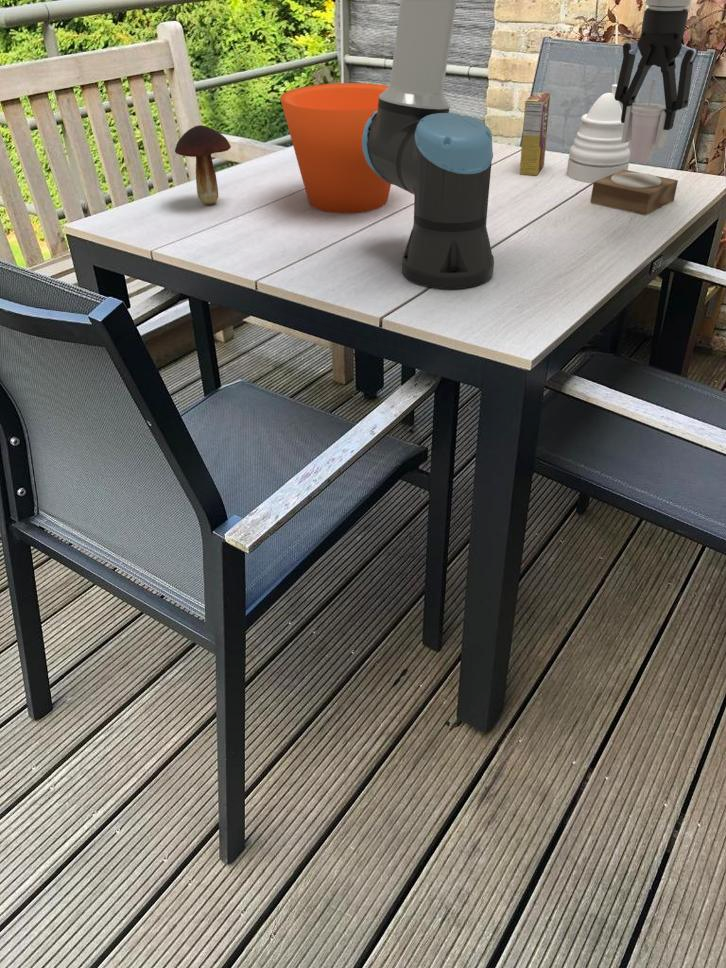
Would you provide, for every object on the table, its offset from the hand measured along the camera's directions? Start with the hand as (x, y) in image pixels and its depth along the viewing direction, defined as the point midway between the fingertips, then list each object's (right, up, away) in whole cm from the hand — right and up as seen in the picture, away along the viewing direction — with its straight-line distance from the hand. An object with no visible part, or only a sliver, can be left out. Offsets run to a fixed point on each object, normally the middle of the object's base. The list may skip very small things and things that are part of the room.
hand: (642, 144), depth 160 cm
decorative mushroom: (-86, -9, +8) cm, 86 cm away
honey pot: (-3, +2, +22) cm, 22 cm away
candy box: (-16, +4, +26) cm, 31 cm away
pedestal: (0, -9, +6) cm, 11 cm away
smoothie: (0, -3, +2) cm, 3 cm away
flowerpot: (-57, -8, +9) cm, 59 cm away
